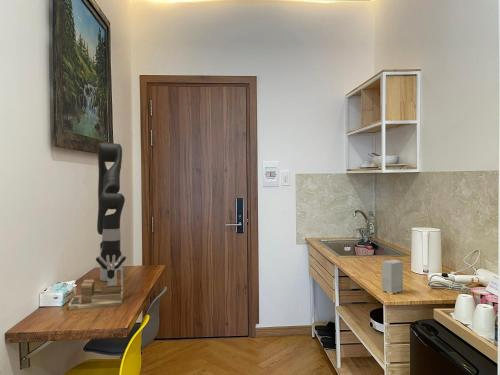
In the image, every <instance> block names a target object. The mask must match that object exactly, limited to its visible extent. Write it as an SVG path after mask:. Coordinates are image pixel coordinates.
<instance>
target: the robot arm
mask: <svg viewBox="0 0 500 375" xmlns="http://www.w3.org/2000/svg"><path fill="white" fill-rule="evenodd" d="M122 159H123V148H122V145H121V144H120V143H114V142H113V143H111V142H100V143H99V144H98V147H97V163H98V184H97V187H98V188H97V192H98V193H97V196H98V197H97V201H98V205H97V206H98V211H97V220H96V222H97V224H96V229H97V233H98V234H99V235H101V239H102V240H101V242H100V244H99V250H100V252H99V254H100V255H99V256H97V257H96V258H95V261H96V262H97V263H98V264H99V265H100V266H99V271H100V275H99V276H100V277H99V279H100V280H99V281H102V282H108V278H109V279H113V277H114V272H115V269H118V268H119V267H120V265H121V264H123V263H124V262H125V260H126V259H127V256H124V255H123V253H122V250H121V239H122V238H121V237H122V236H121V235H122V234H121V216H122V212H123V209H124V206H125V201H126V198H125V196H124V195H123V193H119V192H120V189H121V180H120V178H121V169H122V161H123V160H122ZM106 163H113V164H112V165H111V167H110V168H107V165H106ZM108 210H115V212H113V213H110V214H107V212H108ZM115 263H118V264H117V265H116V266H115ZM110 264H112V268H111V266H110Z"/></svg>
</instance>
